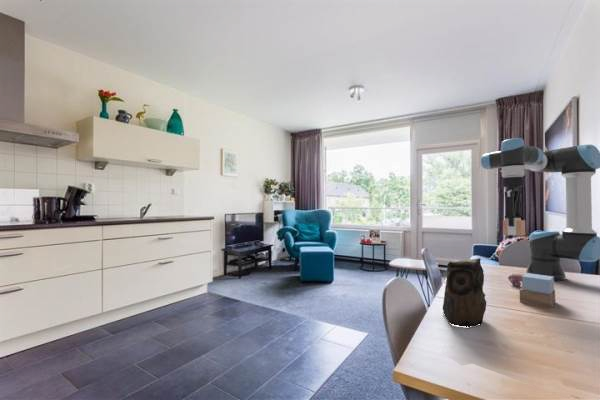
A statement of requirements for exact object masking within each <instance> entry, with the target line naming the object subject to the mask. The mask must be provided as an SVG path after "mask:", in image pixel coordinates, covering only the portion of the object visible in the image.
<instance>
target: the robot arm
mask: <svg viewBox="0 0 600 400" xmlns="http://www.w3.org/2000/svg"><path fill="white" fill-rule="evenodd" d="M480 165H481V168H482V169H485V170H493V169H501V170H500V171H499V172H500V173H501V177H502V178H501V186H502V188H507V190H506V191H505V192H504V198H505V200H504V202H505V205H504V207H505V216H504V219H506V220H507V225H508V235H507V236H512V235H517V233H516V220H522V218H524V215H523V203H522V194H523V193H522V192H521V191H520V187H521V188H523V187H525V186H526V178H525V177H524V176H525V175H526V173H525V172H526V170H530V171H531V172H537V173H538V172H539V173H541V172H542V173H553V174H554V173H561V176H562V177H564V178H565V213H566V226H565V227H566V228H564V229H563V230H562V231H561V232H562V233H560V231H559V230H558V231H556V230H555V231H542V232H541V231H538V232H537V231H535V232H531V233H530V234H529V256H530V257H529V259H530V261H529V263H528V266H527V268H526V273H530V274H538V275H545V276H553V277H554V281H565V280H566V279H567V277H566V273H565V270H564V268H563V266H562V264H561V259H562V260H563V259H564V260H570V261H571V260H572V261H578V262H579V261H580V262H588V263H595V262H596V261H598V260H600V236H598V233H597V231H595V230H594V229H593V222H592V221H593V216H592V215H593V214H592V209H593V207H592V206H593V205H592V177H593V176H594V175H596V174H597V173H596V171H597V170H598V169H600V150H599V149H598V147H597V146H595V145H593V144H580V145H579V144H578V145H575V146H570V147H568V146H567V147H562V148H556V149H549V150H545V151H543V150H542V149H541V148H539V147H536V146H533V145H531V146H530V145H525V141H524V139H523V138H522V137H517V138H516V137H514V138H508V139H505V140H503V141H501V144H500V150H499V151H493V152H488V153H484V154H482V156H481V157H480Z"/></svg>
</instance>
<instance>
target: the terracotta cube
mask: <svg viewBox="0 0 600 400" xmlns="http://www.w3.org/2000/svg"><path fill="white" fill-rule="evenodd" d="M516 233H517V235H511V236H514V237H515V236H516V237H522V236H527V235H526V220H525V219H523V220H522V219H521V220H516ZM502 234H503V236H509V235H508V225H507V219H504V220H503V219H502Z"/></svg>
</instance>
